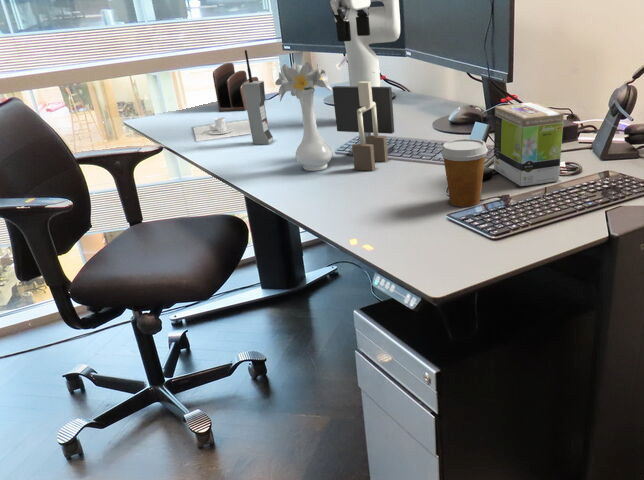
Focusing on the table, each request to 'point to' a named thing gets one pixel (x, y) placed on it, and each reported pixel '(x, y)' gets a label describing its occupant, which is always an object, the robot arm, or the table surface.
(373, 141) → the headphones
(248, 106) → the vintage mobile phone
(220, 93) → the letter holder
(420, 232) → the table surface
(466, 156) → the disposable coffee cup
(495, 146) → the tea box
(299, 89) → the flower vase
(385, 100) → the monitor
